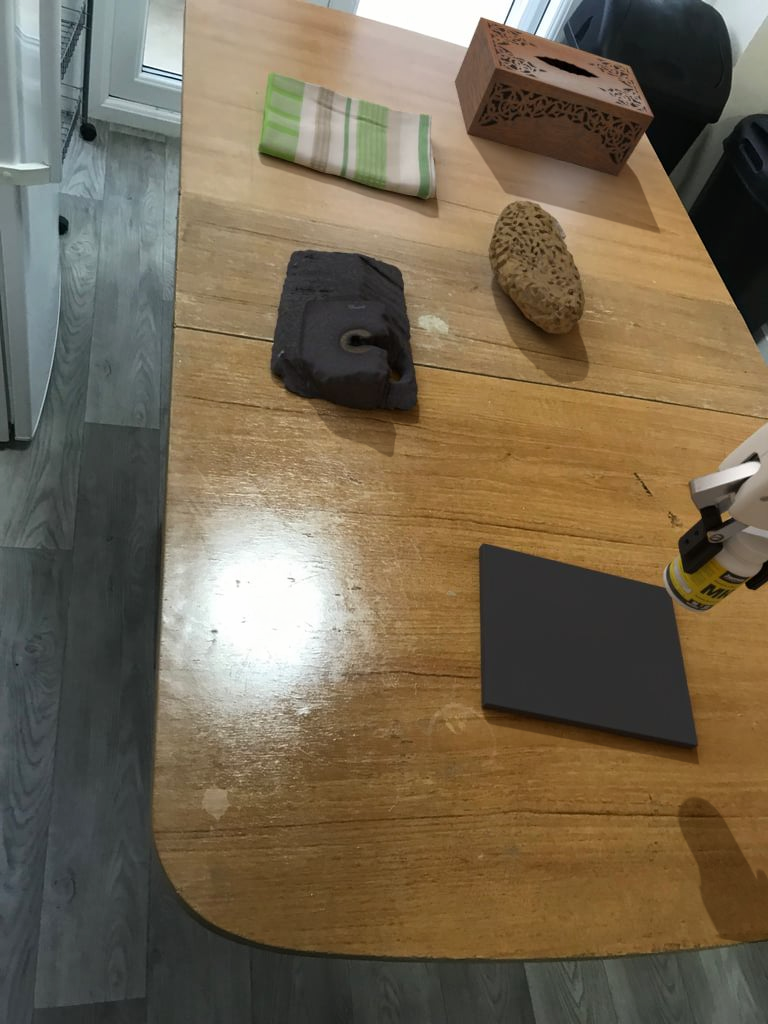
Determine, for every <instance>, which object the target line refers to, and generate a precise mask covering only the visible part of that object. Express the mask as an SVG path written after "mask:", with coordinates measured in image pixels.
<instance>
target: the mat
mask: <svg viewBox="0 0 768 1024" xmlns="http://www.w3.org/2000/svg"><path fill="white" fill-rule="evenodd" d="M478 570H479V571H478V574H479V577H478V579H479V580H478V581H479V583H478V584H479V626H480V627H479V633H480V634H479V637H480V638H479V640H480V644H479V645H480V690H481V691H480V693H481V694H480V695H481V698H480V699H481V704H480V705H481V709H487V710H491V711H496V712H502V713H507V714H512V715H516V716H521V717H527V718H531V719H537V720H542V721H546V722H552V723H556V724H561V725H566V726H571V727H576V728H581V729H586V730H593V731H597V732H602V733H608V734H612V735H617V736H623V737H627V738H633V739H636V740H641V741H648V742H653V743H657V744H663V745H668V746H672V747H677V748H683V749H688V750H693V749H695V748H697V747H699V741H698V735H697V731H696V725H695V718H694V714H693V708H692V703H691V696H690V691H689V686H688V680H687V674H686V669H685V663H684V658H683V652H682V645H681V641H680V636H679V630H678V629H679V628H678V624H677V618H676V613H675V608H674V602H673V601H674V600H673V599H672V597H671V596H670V595H669V593H668V592H667V590H666V588H665V586H659V585H657V584H652V583H647V582H645V581H640V580H635V579H631V578H628V577H624V576H619V575H617V574H612V573H607V572H603V571H600V570H595V569H591V568H587V567H582V566H578V565H576V564H575V565H574V564H571V563H567V562H563V561H559V560H554V559H550V558H546V557H542V556H538V555H534V554H530V553H527V552H522V551H516V550H513V549H509V548H505V547H502V546H498V545H493V544H489V543H486V542H483V543H481V545H480V546H479V548H478Z"/></svg>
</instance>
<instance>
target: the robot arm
mask: <svg viewBox="0 0 768 1024" xmlns="http://www.w3.org/2000/svg"><path fill="white" fill-rule="evenodd" d="M687 484H688V491H689V494H690V500H691V501H692V503H693V504H694V506H695V507H696V510H698V512H699V513H700V519H699V520H698V521H697V522H696V523H694V524H693V526H691V527H690V528H689V529H688V530H686V532H684V534H683V535H681V536H680V537H679V539H678V541H677V546H678V553H679V555H680V556H681V562H682V567H683V571H684V573H687V574H693V573H695V572H697V571H698V570H699V569H700V568H701V567H703V566H704V565H705V564H706V563H707V562H709V561H710V560H711V559H712V558H713V557H715V556H716V555H717V554H718V553H719V552H720V551H722V549H723V542H722V541H724V540H726V539H728V538H729V537H731V536H733V535H735V534H737V533H739V532H740V531H742V530H744V529H746V528H748V527H750V526H752V527H755V528H759V529H762V530H765V531H768V421H767V422H766V423H764V424H763V425H762V426H761V427H760V428H758V429H757V430H756V431H755V432H754V433H753V434H751V435H750V436H749V437H748V438H747V439H745V440H744V441H743V442H742V443H741V444H739V445H738V446H737V447H736V448H735V449H734V450H733V451H732V452H731V453H729V454H728V455H727V456H726V458H725V459H723V460H722V462H721V463H720V464H719V466H718V467H717V471H715V472H712V473H709V474H705V475H702V476H699V477H696V478H693V479H690V480H689V481H688V483H687ZM726 512H728V514H729V516H730V517H731V518H730V517H729V518H730V519H728V518H727V519H728V520H727V519H726V520H724V521H723V519H722V515H723V514H724V513H726ZM766 583H768V560H767V561H766V562H763V566H762V568H761V569H760V571H759V572H758V573H757V574H756V575H754V576H753V577H752V578H750V579H749V580H748V581H747V582H745V583H744V585H745V587H746V589H748V590H752V591H757V590H758V589H760V588H761V587H762V586H764V585H765V584H766Z"/></svg>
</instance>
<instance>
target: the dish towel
mask: <svg viewBox="0 0 768 1024" xmlns="http://www.w3.org/2000/svg"><path fill="white" fill-rule="evenodd" d="M267 77H268V78H267V83H266V91H265V92H266V93H265V101H264V102H265V103H264V108H263V115H262V128H261V134H260V139H259V144H258V148H257V151H258V152H259V153H263V154H265V155H266V154H267V155H269V156H271V157H275V158H278V159H282V160H285V161H288V162H291V163H294V164H297V165H301V166H304V167H307V168H309V169H312V170H315V171H317V172H321V173H324V174H330V175H335V176H337V177H342V178H345V179H348V180H350V181H353V182H356V183H360V184H362V185H365V186H368V187H372V188H375V189H379V190H382V191H389V192H393V193H398V194H401V195H406V196H414V197H418V198H420V199H422V200H428V199H429V198H430V199H432V198H434V197H435V196H436V190H437V174H436V173H437V172H436V168H435V161H434V151H433V142H432V117H433V116H431V115H430V114H426V113H425V114H424V113H414V112H408V111H405V110H398V109H392V108H389V107H387V106H384V105H383V104H382V105H381V104H379V103H375V102H373V101H369V100H364V99H360V98H355V97H350V96H347V95H344V94H341V93H339V92H337V91H335V90H332V89H331V88H327V87H325V86H322V85H320V84H319V85H318V84H315V83H312V82H311V83H310V82H307V81H304V80H301V79H297V78H295V77H291V76H288V75H287V76H286V75H283V74H279V73H277V72H274V71H271V72H269V74H268V76H267Z"/></svg>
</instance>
